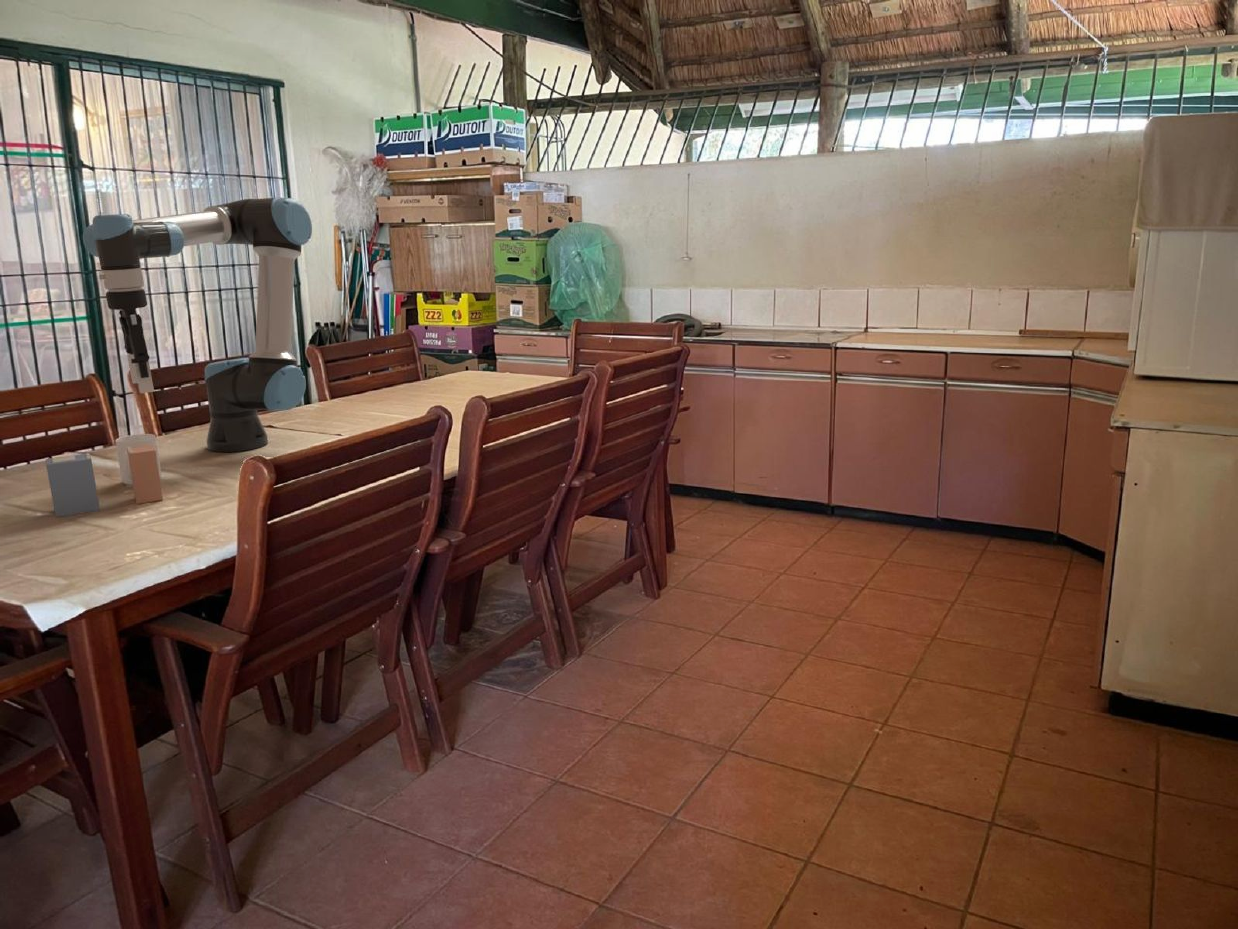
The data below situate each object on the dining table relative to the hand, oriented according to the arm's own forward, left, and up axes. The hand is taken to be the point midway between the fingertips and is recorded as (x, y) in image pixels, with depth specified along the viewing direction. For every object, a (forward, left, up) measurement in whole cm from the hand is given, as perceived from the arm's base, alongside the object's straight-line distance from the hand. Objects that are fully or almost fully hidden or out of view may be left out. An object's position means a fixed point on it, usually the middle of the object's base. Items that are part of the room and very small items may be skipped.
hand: (143, 387), depth 202 cm
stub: (+3, +8, -23) cm, 25 cm away
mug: (+3, -8, -23) cm, 25 cm away
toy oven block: (+16, +8, -23) cm, 29 cm away
